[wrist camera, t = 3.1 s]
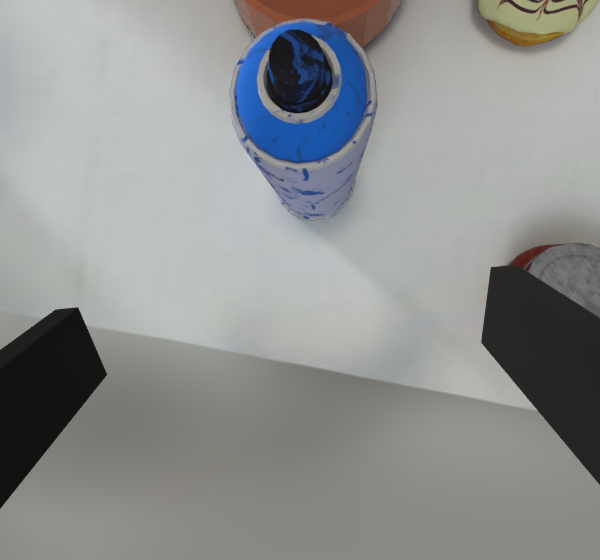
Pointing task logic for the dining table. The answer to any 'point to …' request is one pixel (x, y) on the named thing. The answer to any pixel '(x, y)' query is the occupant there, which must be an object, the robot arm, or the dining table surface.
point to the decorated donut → (534, 18)
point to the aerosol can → (305, 112)
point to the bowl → (321, 14)
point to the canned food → (567, 271)
